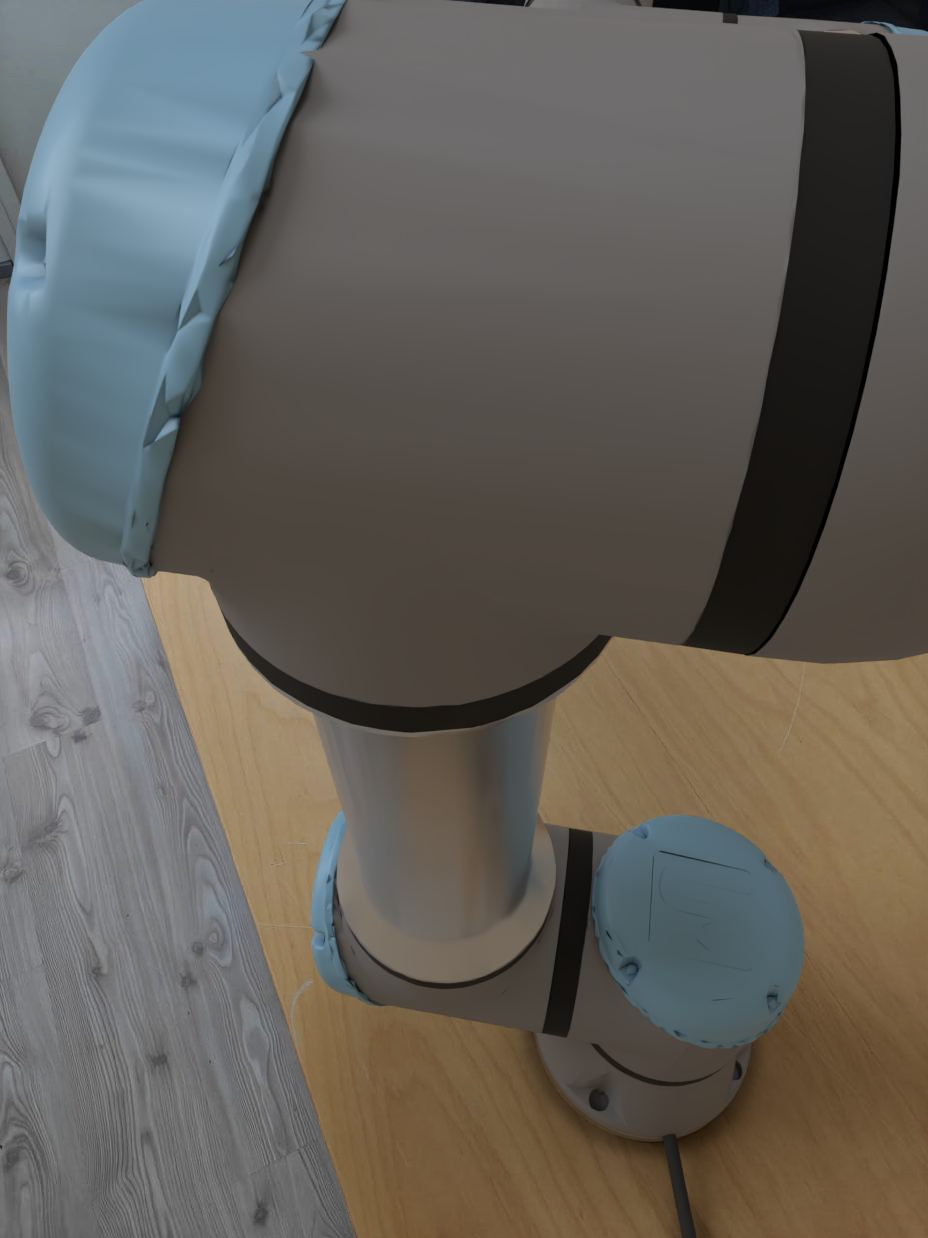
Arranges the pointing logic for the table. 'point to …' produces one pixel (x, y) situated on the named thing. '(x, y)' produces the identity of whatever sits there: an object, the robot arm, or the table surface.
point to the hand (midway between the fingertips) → (547, 423)
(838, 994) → the table surface
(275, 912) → the table surface
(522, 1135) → the table surface
